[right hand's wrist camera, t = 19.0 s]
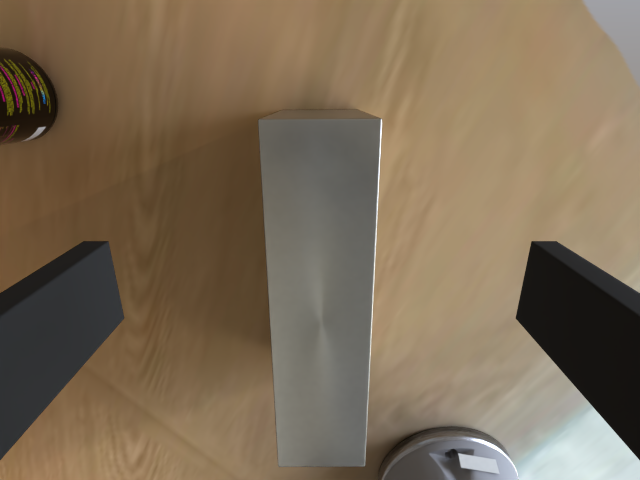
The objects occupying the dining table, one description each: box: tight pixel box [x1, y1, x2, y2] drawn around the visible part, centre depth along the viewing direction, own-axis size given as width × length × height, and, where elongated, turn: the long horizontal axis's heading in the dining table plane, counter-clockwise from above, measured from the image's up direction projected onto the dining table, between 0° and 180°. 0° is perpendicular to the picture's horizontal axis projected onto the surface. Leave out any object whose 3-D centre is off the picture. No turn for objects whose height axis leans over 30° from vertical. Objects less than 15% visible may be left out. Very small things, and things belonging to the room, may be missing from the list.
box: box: [258, 110, 382, 467], centre depth 29 cm, size 23×6×12 cm, turn 0°
